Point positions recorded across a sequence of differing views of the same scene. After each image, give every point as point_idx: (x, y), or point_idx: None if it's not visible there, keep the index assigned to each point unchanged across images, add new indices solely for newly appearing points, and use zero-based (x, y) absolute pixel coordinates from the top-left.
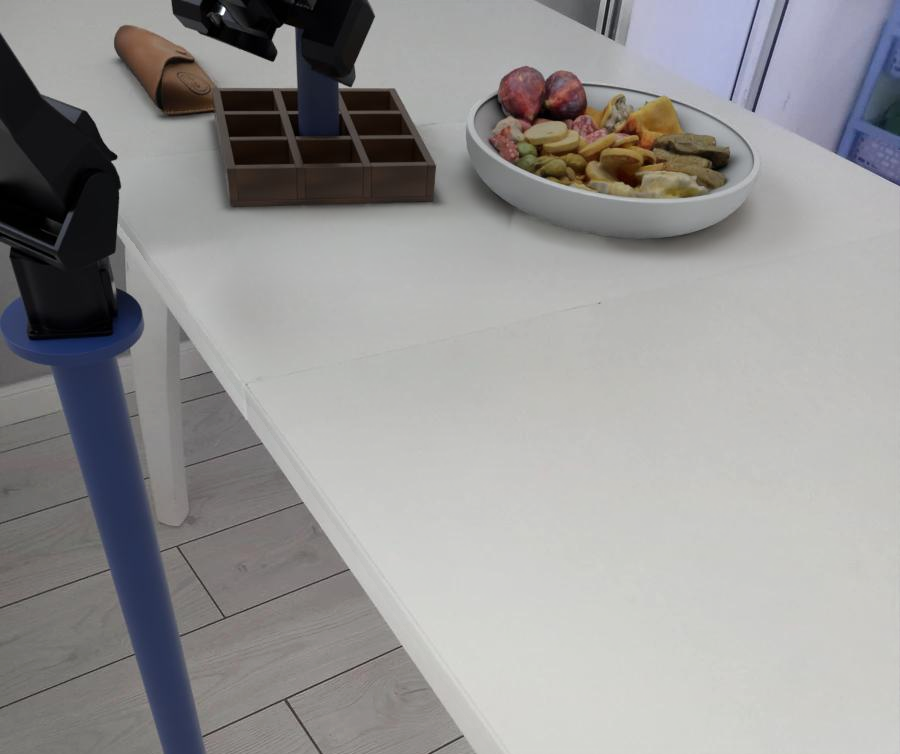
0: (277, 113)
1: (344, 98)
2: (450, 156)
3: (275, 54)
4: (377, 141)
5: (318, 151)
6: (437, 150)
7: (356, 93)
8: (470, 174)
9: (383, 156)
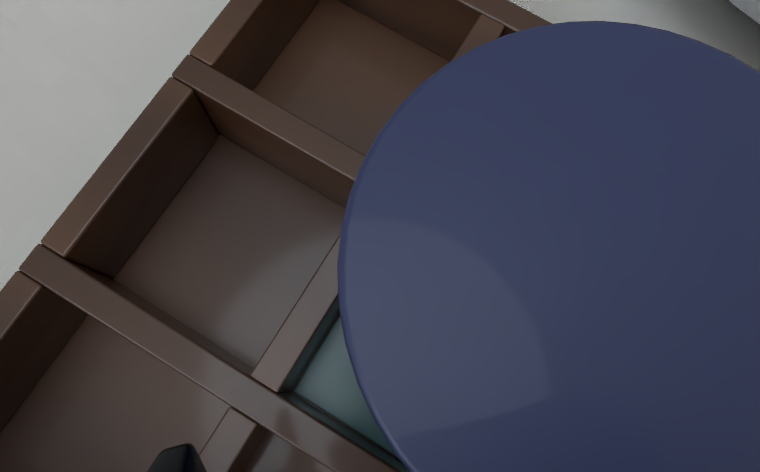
0: (249, 431)
1: (228, 65)
2: (598, 9)
3: (196, 467)
4: None
5: None
6: (547, 10)
7: (251, 21)
8: (721, 45)
9: None
